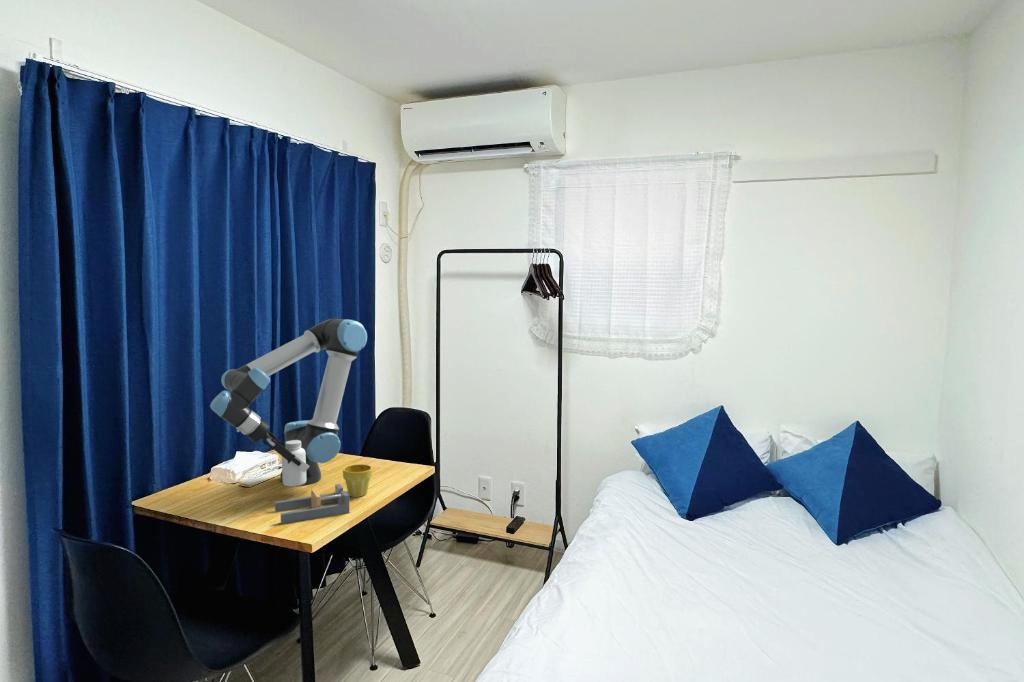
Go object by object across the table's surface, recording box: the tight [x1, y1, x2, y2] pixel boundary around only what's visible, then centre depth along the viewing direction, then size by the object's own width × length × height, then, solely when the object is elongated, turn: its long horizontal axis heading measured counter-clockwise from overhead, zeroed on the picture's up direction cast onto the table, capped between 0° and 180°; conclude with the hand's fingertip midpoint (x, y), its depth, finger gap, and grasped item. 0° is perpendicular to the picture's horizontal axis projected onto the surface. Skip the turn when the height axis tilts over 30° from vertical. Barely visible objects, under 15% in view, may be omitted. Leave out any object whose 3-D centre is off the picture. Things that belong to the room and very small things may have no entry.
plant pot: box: [342, 463, 373, 498], centre depth 215 cm, size 10×10×10 cm
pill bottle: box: [281, 440, 306, 487], centre depth 207 cm, size 8×8×15 cm
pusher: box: [310, 488, 341, 508], centre depth 200 cm, size 10×9×6 cm
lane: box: [274, 483, 350, 525], centre depth 197 cm, size 22×13×6 cm, turn 120°
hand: (304, 466), depth 209 cm, fingers closed on pill bottle, 8 cm apart
